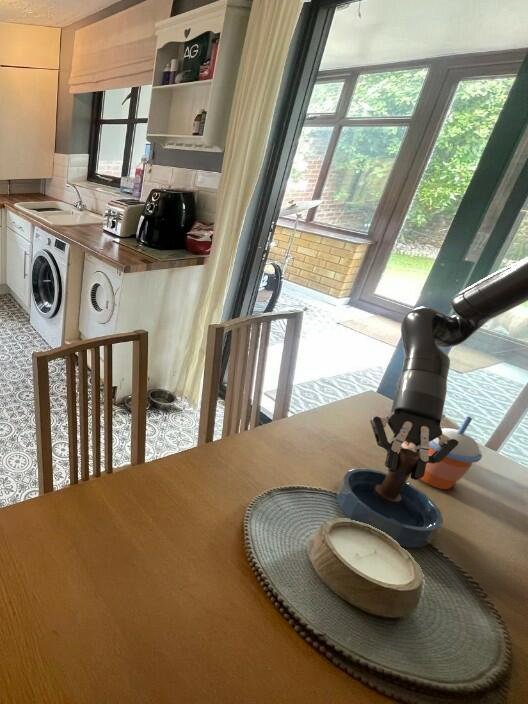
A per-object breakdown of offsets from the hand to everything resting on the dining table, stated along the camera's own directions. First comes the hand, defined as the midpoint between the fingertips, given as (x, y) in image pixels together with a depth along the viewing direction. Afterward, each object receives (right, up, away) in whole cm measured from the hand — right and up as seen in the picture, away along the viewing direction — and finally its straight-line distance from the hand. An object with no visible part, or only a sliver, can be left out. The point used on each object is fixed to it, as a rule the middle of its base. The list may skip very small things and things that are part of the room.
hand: (403, 474), depth 83 cm
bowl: (-1, -10, +4) cm, 11 cm away
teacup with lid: (+24, -3, +21) cm, 32 cm away
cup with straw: (+20, -6, +13) cm, 24 cm away
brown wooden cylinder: (+1, -6, +5) cm, 8 cm away
